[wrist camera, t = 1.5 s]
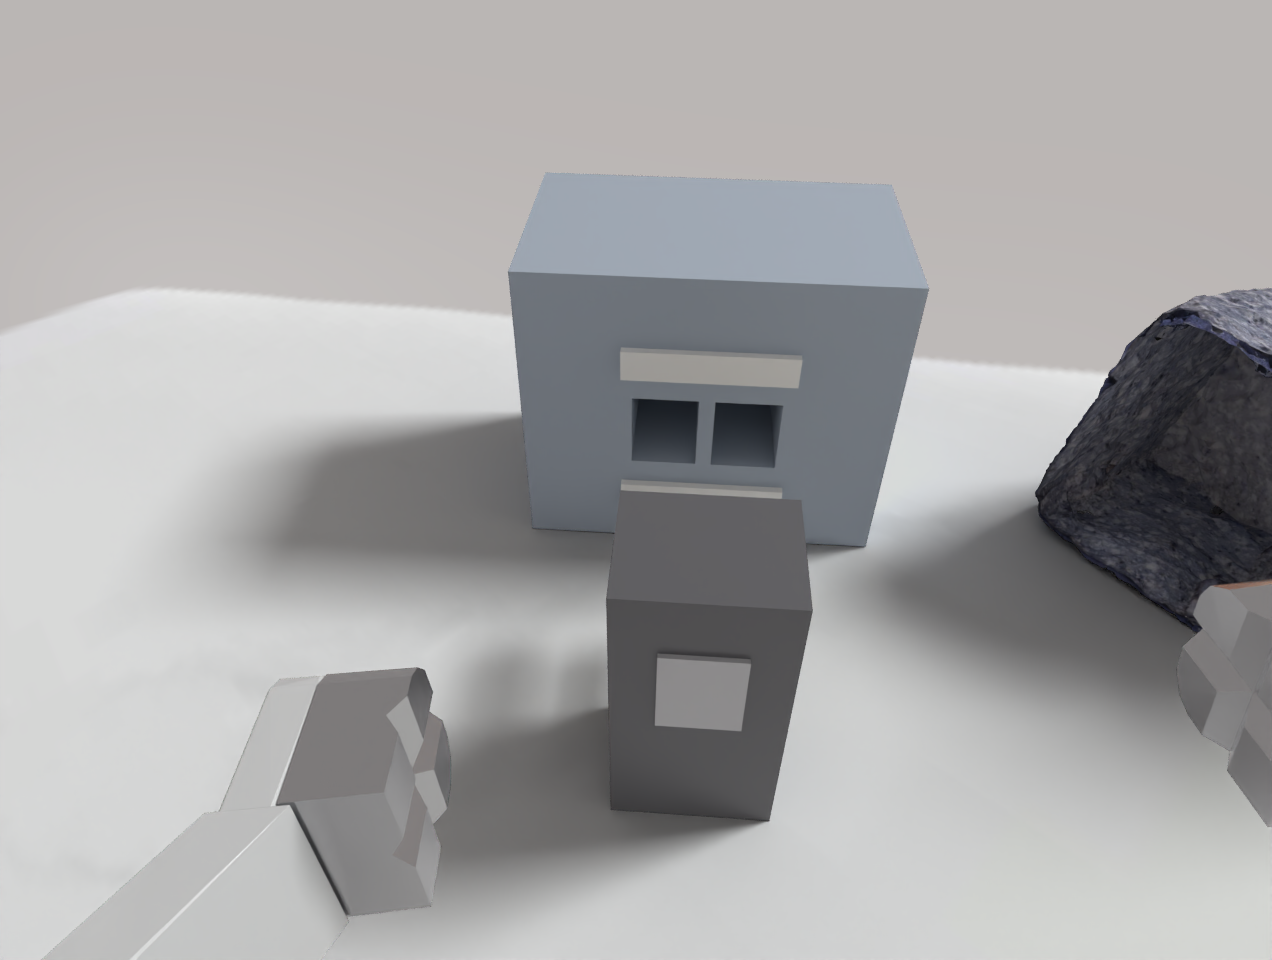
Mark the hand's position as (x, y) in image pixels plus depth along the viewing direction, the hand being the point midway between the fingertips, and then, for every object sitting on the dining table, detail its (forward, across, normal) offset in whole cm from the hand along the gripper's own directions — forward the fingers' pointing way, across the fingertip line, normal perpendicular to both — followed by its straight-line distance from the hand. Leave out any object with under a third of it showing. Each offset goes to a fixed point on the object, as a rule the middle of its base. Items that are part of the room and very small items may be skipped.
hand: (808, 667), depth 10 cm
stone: (+22, -20, +18) cm, 35 cm away
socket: (+28, 0, +16) cm, 32 cm away
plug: (+15, +1, +17) cm, 23 cm away
